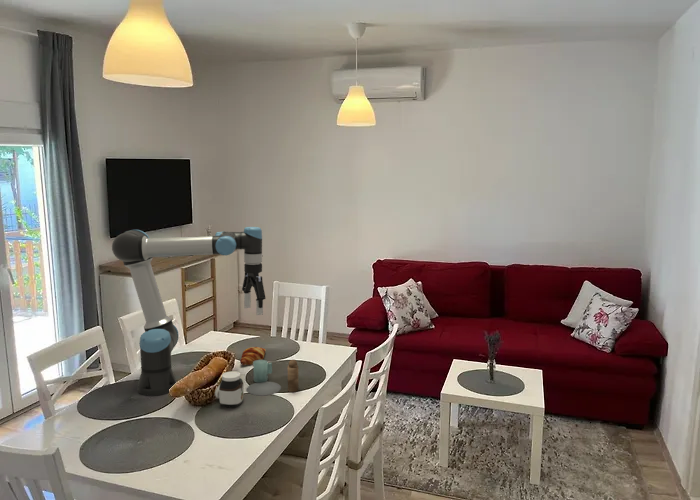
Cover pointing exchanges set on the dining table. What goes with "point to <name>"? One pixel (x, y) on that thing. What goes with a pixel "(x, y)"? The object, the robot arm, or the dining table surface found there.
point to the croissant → (252, 355)
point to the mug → (261, 370)
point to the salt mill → (293, 376)
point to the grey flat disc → (263, 388)
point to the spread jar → (230, 389)
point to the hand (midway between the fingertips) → (253, 311)
